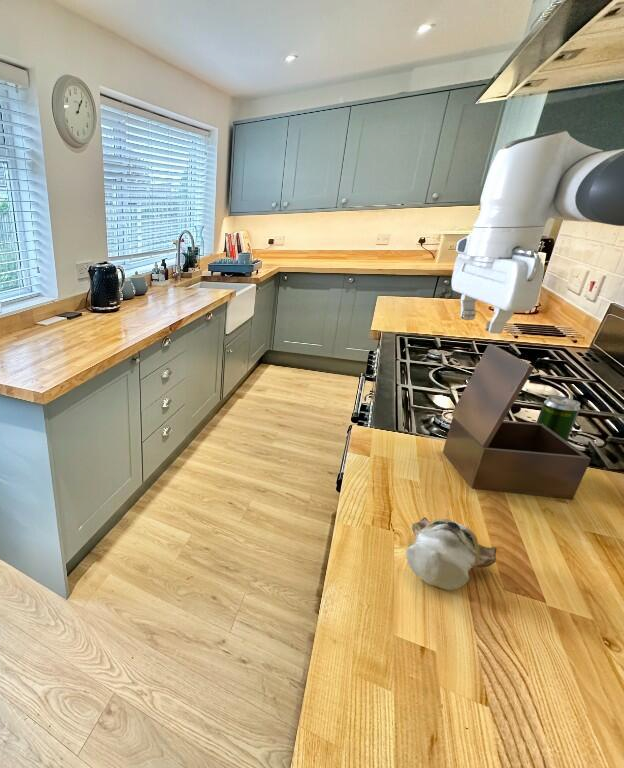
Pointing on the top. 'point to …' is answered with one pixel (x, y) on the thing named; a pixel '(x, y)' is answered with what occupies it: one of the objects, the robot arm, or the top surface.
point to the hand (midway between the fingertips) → (479, 325)
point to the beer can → (559, 415)
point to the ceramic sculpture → (446, 553)
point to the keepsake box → (518, 460)
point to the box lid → (491, 393)
